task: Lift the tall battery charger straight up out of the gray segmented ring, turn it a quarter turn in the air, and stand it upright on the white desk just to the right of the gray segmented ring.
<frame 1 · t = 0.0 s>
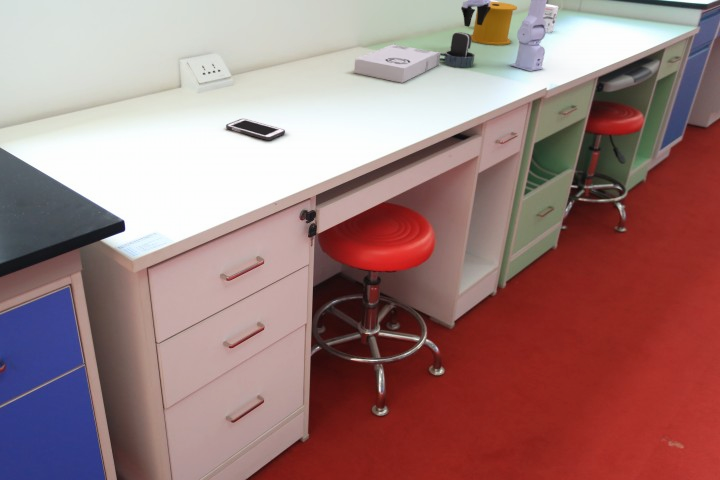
hand: (473, 25, 272), 10 cm above the table, tool pointing down, fingers open, 7 cm apart
power supply unit: (397, 69, 246), on the table
cell phone: (255, 131, 180), on the table
spool: (489, 40, 298), on the table
gray segmented ring: (458, 64, 257), on the table
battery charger: (458, 64, 257), resting in gray segmented ring
small box: (484, 30, 319), on the table
ink box: (542, 31, 324), on the table
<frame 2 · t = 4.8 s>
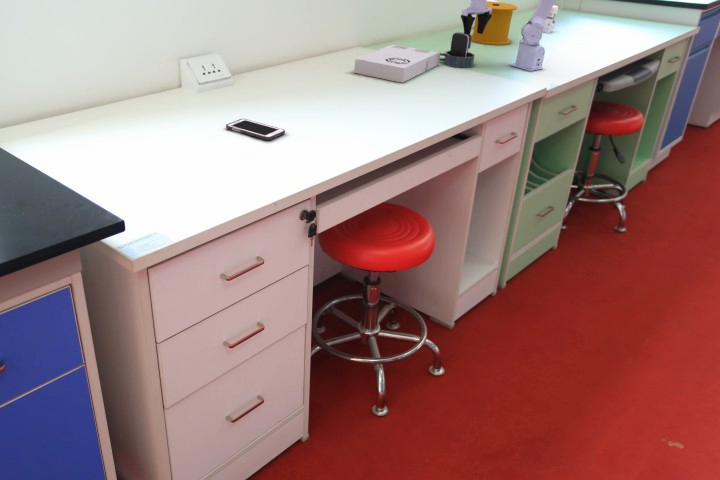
hand: (473, 34, 255), 10 cm above the table, tool pointing down, fingers open, 7 cm apart
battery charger: (458, 64, 257), resting in gray segmented ring, touching gripper
everything else where it was.
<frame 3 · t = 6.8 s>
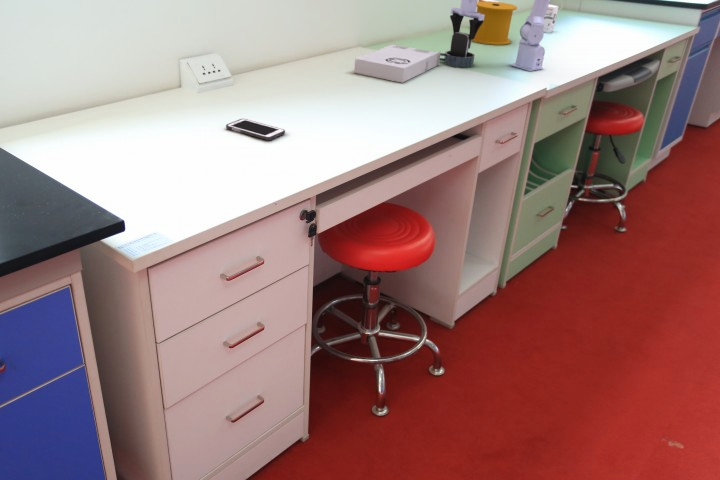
hand: (463, 37, 253), 10 cm above the table, tool pointing down, fingers open, 7 cm apart
nothing on the table moved.
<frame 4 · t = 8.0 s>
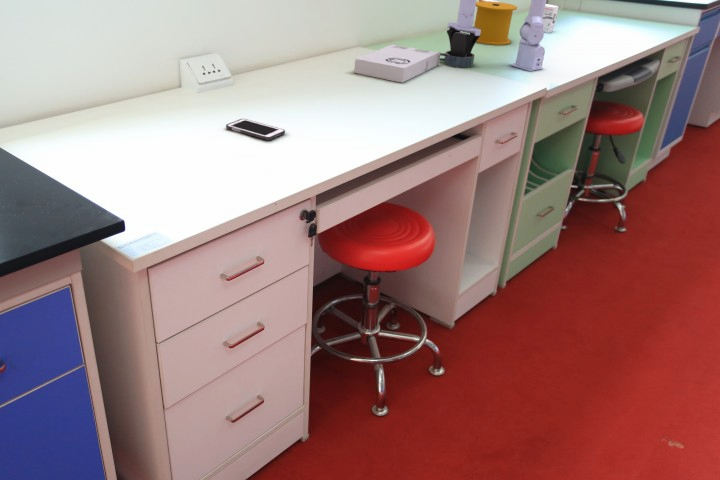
hand: (460, 51, 255), 5 cm above the table, tool pointing down, fingers closed on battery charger, 7 cm apart
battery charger: (458, 64, 257), resting in gray segmented ring, touching gripper
everything else where it was.
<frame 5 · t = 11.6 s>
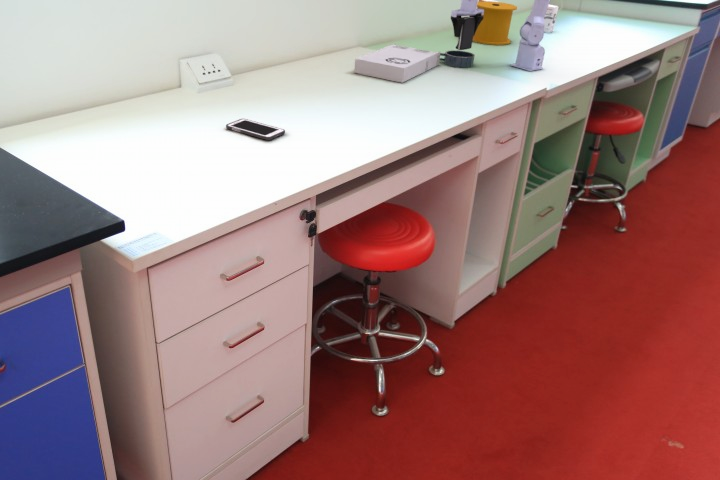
hand: (464, 36, 252), 10 cm above the table, tool pointing down, fingers closed on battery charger, 7 cm apart
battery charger: (462, 49, 254), point 6 cm above the table, touching gripper
everything else where it was.
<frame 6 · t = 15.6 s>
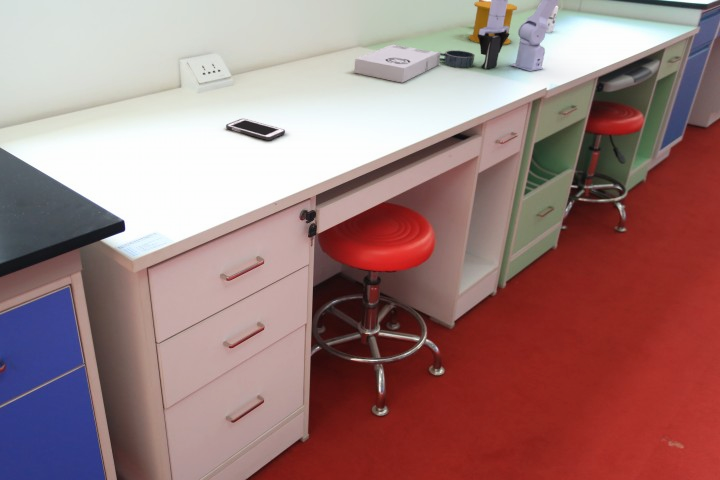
hand: (490, 53, 253), 5 cm above the table, tool pointing down, fingers closed on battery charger, 7 cm apart
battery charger: (487, 67, 255), on the table, touching gripper
everything else where it was.
when the fingers open (5 cm above the table, at t = 15.7 s): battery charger stays where it is, on the table.
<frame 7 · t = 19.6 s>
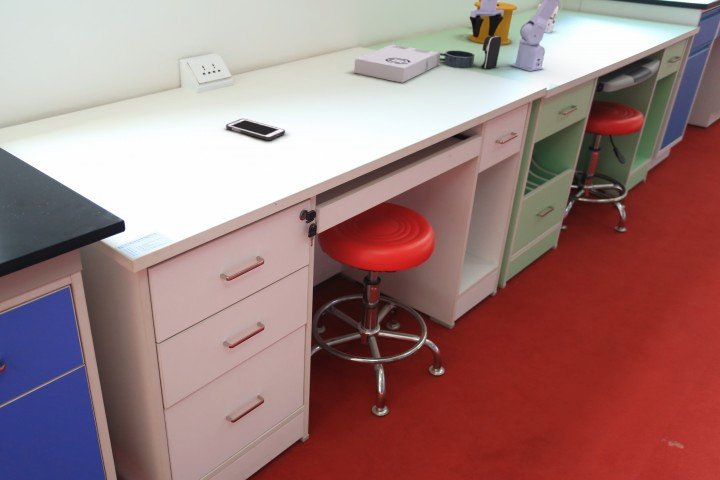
hand: (483, 36, 253), 10 cm above the table, tool pointing down, fingers open, 7 cm apart
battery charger: (487, 67, 255), on the table
everything else where it was.
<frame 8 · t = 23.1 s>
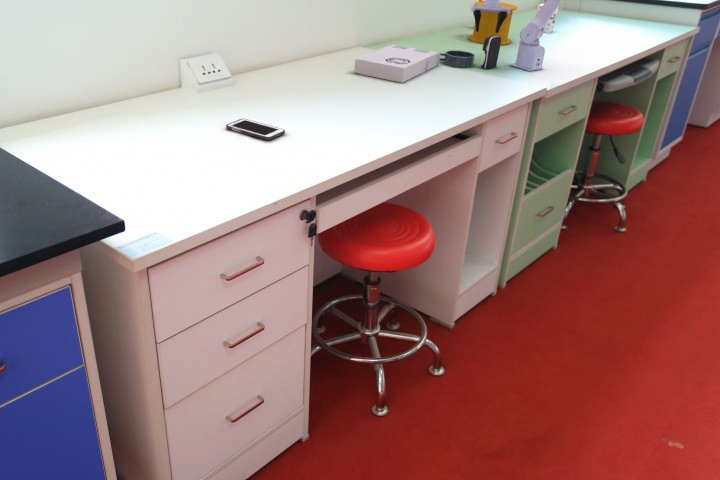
hand: (486, 31, 261), 10 cm above the table, tool pointing down, fingers open, 7 cm apart
nothing on the table moved.
at the end: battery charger inside the target area (0.1 cm from its centre), on the table; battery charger tilted 0°; the gripper is holding nothing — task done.
